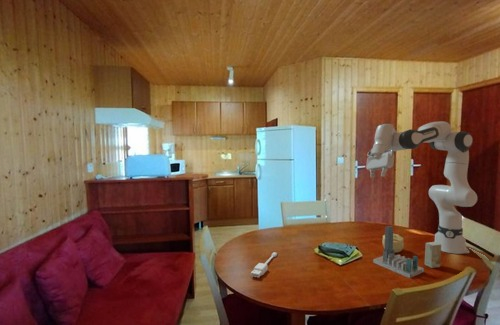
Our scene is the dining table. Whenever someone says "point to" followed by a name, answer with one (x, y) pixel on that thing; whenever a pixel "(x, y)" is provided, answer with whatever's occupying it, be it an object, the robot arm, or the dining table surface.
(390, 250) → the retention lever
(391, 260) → the grey dish rack
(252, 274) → the charging cable
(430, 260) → the skincare box
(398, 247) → the sculpture
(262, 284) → the dining table surface
